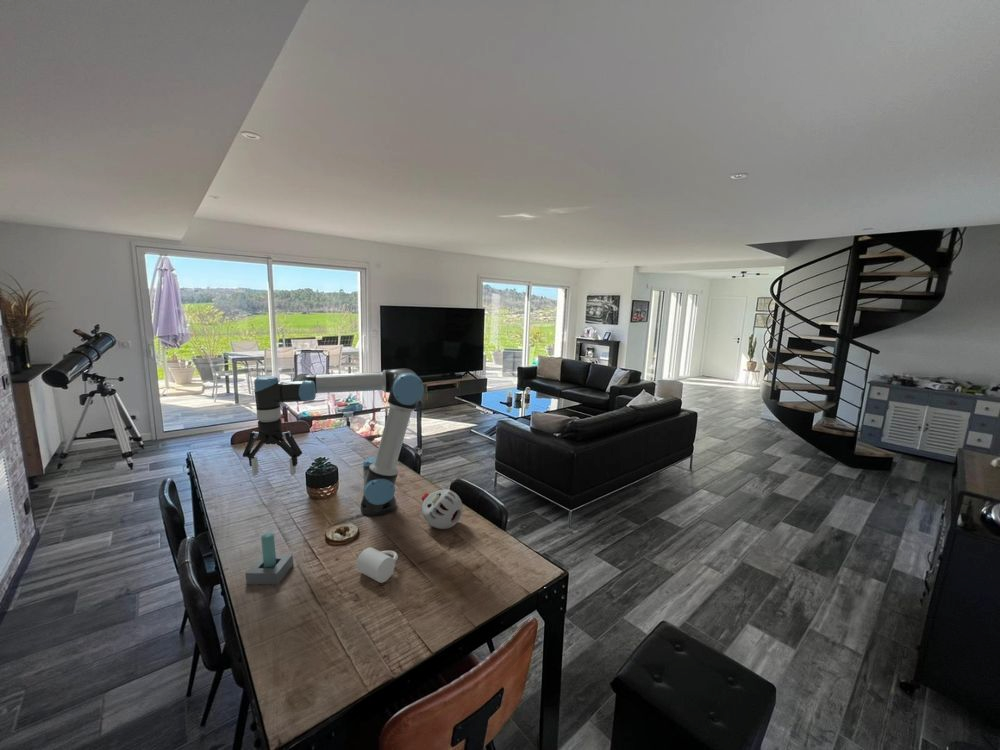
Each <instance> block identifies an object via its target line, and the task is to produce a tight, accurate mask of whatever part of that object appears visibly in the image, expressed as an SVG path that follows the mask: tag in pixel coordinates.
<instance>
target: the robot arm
mask: <svg viewBox="0 0 1000 750" xmlns="http://www.w3.org/2000/svg"><path fill="white" fill-rule="evenodd" d="M253 386H254V390H253V392H254V398H255V406H256V416H257V417H256V419H257V427H258V431H256V430H253V431H252V432H249V440H248V442H247V444H246V446H245V449H244V451H243V453H242V458H248V465H249V467H251V471H252V472H251V473H252V476H253V477H254V476H256V475H258V474H259V473H260V472H259V459H258V456H256V454H257V453H258V452H259V451H260V450H261V448H262V447H263V446H264V445H277V446H278V447H280V448H281V449H282V450H283V451H284V452H285V453H286V454H287V455H288V456H289V457H290V458H289V459H288V461H289V473H290V476H294V475H295V474H296V473H297V468H296V466H297V465H298V463H299V462H298V458H299V457H300V456H301V455H303V451H302V450H301V448H300V447H299V444H298V443H297V441H296V440H295V438H294V436H293V434H292V431H291V430H288V431H285V432H284V431H283V424H282V423H283V422H282V418H281V417H282V409H281V403H296V402H299V403H300V402H309V401H310V402H311V401H312V402H313V401H314V400H315V399H316V395H317V394H330V393H351V392H352V393H353V392H370V391H371V392H372V391H373V392H375V391H382V392H383V393H389V395H388V398H387V403H388V405H389V410H388V413H387V415H386V420H385V425H384V427H383V429H382V430H383V431H382V434H381V438H380V441H379V446H378V449H377V452H376V456H371V457H368V458H366V459H364V460H363V464H362V471H363V495H362V499H361V502H360V513H362V514H363V515H366V516H371V517H376V516H377V517H378V516H384V515H387V514H389V513H392V512H393V511H394V510H395V509H396V507H397V499H396V497H395V492H396V485H395V484H396V483H397V482H396V481H397V478H398V474H399V470H398V468H397V464H398V460H399V457H400V453H401V449H402V446H403V443H404V439H405V436H406V432H407V428H408V425H409V422H410V418H411V415H412V412H414V411H416V410H417V407H418V403H419V402H420V400H421V399H422V398H423V395H424V391H425V390H424V389H425V388H424V383H423V380H422V379H421V378H420V376H419V375H418V374H417V373H416V372H415V371H413V370H412V369H410V368H404V367H403V368H393V369H383V370H382V371H381V372H380V371H379V372H355V373H354V372H353V373H351V372H349V373H327V374H325V373H324V374H308V373H304V372H303V373H299V374H297V375H296V376H295V377H294V378H293V379H292V380H291V381H279V378H278V377H277V376H275V375H274V376H273V375H268V376H267V375H265V376H260V377H257V378H255V380H254V384H253ZM257 438H259V439H260V441H259V442H258V443H257V445H256V446H255V447H254V445H255V442H256V440H257ZM284 438H285V439H284ZM253 447H254V448H253Z"/></svg>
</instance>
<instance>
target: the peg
mask: <svg viewBox="0 0 1000 750" xmlns="http://www.w3.org/2000/svg"><path fill="white" fill-rule="evenodd" d="M275 543H276V542H275V534H274V533H273V532H266V533H265V534H262V535H261V549H262V555H263V563H264V568H274V567H275V566H276V554H277V553H276V544H275Z"/></svg>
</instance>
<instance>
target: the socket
mask: <svg viewBox="0 0 1000 750" xmlns="http://www.w3.org/2000/svg"><path fill="white" fill-rule="evenodd" d="M275 554H276V566H275V567H274V568H264V563H263V554H262V555H261V556H260V557H258V559H257V560H256V561H255V562H254V563H253V564H252V566H251V567H250V568H248V570H247V571H246V572H245V584H246V585H258V584H268V585H269V584H270V585H271V584H272V585H273V586H274V584H275V586H276V585H277V586H278V585H279V584H280V583H281V581H282V580H283V578H284V577H285V576H286V575H287V574H288V572H289V571H290V570H291V568H292V567H293V566H294V557H293V554H291V553H286V554H285V553H275ZM268 585H267V586H268ZM270 585H269V586H270ZM272 585H271V586H272Z"/></svg>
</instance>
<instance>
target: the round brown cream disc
mask: <svg viewBox="0 0 1000 750" xmlns="http://www.w3.org/2000/svg"><path fill="white" fill-rule="evenodd" d="M359 528H360V527H358V526H357V524H355V523H352V522H344V523H340V524H336V525H332V526H331V527H329V528H327V530H326V531H325V533H324V540H326V541H325V542H326V544H329V545H335V546H336V545H344V544H347V543H350V542H351V541H354V540H355V539H356V538H358V536H359V534H360V529H359Z"/></svg>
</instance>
